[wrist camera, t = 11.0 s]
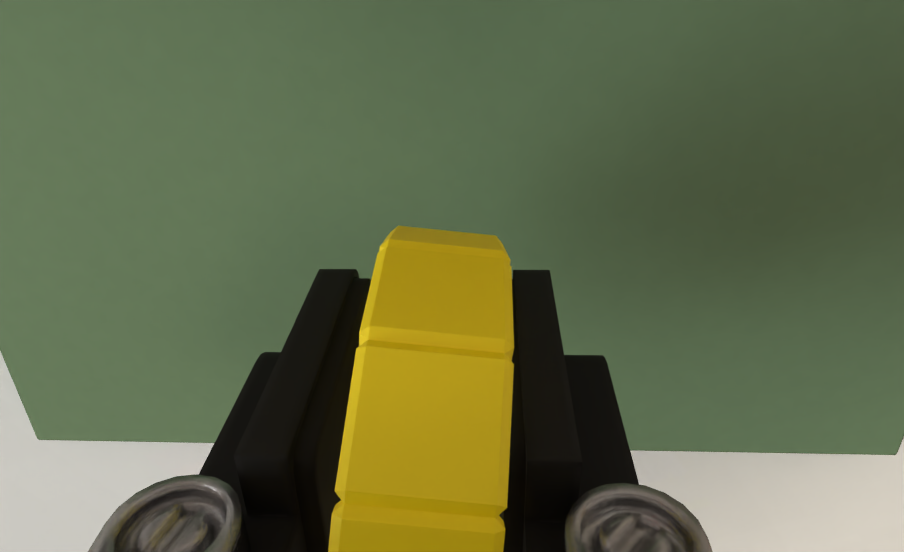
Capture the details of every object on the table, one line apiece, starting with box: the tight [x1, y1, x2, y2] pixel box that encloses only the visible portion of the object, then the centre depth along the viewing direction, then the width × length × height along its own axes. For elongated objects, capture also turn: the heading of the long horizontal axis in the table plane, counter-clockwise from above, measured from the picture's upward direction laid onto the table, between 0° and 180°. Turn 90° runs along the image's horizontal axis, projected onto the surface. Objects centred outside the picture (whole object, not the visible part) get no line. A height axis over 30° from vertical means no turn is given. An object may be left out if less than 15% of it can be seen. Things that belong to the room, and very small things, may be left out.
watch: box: [328, 226, 514, 552], centre depth 8 cm, size 6×3×6 cm, turn 174°
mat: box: [0, 0, 904, 455], centre depth 13 cm, size 20×10×1 cm, turn 91°
